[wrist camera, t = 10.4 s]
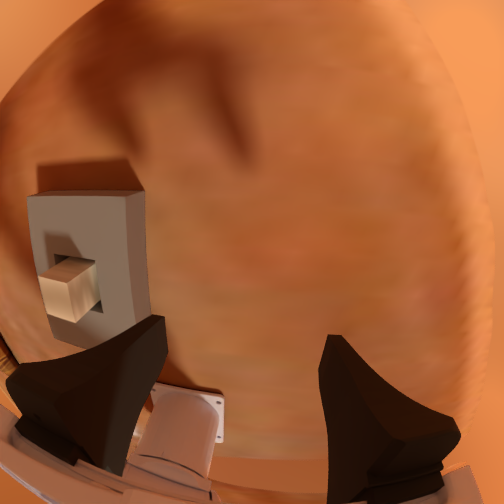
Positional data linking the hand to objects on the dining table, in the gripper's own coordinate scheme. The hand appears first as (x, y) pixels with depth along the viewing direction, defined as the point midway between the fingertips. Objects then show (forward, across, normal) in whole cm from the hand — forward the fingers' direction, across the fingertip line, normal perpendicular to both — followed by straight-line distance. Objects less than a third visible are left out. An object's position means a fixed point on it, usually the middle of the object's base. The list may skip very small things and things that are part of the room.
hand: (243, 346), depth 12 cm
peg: (+10, +14, +2) cm, 17 cm away
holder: (+9, +14, +2) cm, 17 cm away
